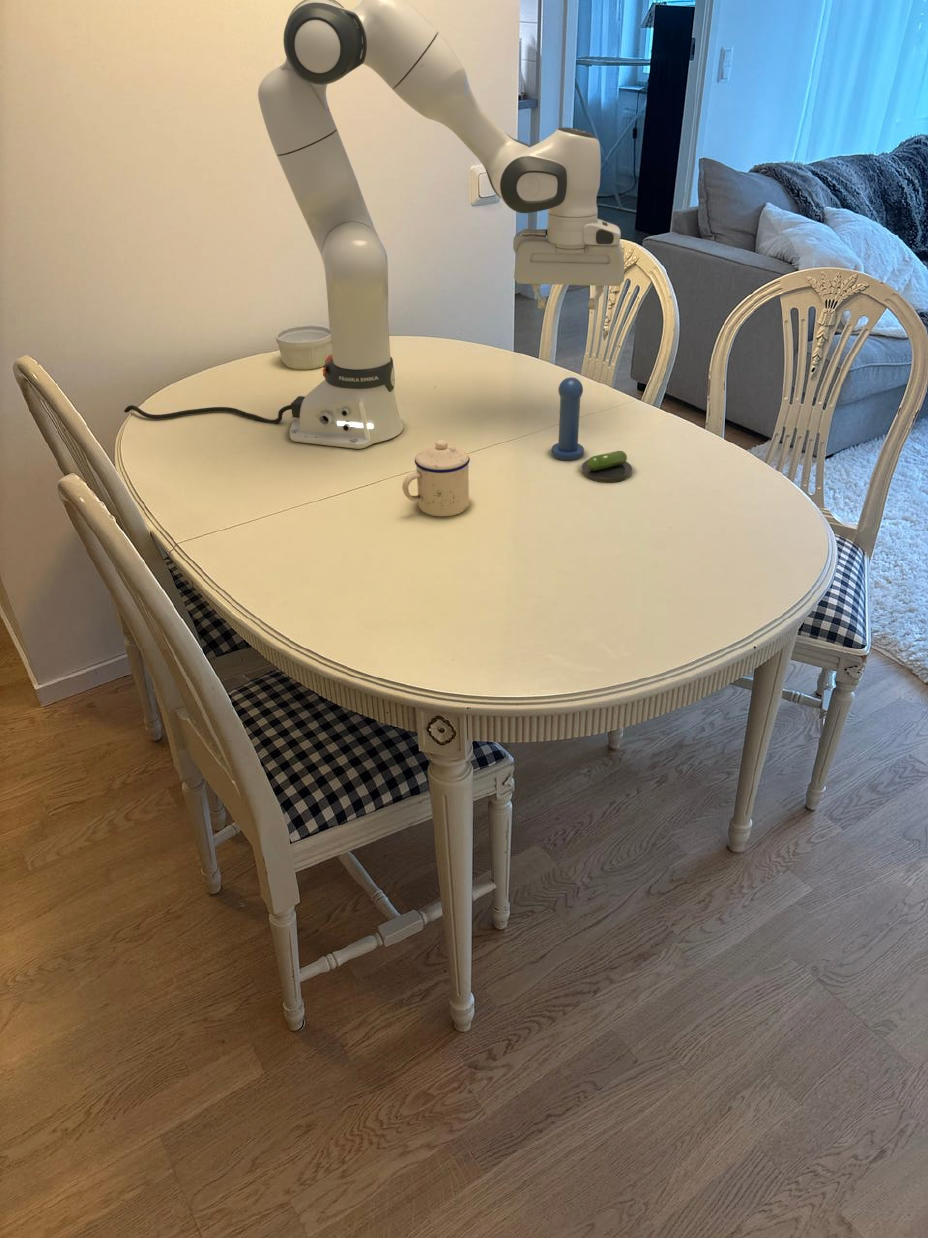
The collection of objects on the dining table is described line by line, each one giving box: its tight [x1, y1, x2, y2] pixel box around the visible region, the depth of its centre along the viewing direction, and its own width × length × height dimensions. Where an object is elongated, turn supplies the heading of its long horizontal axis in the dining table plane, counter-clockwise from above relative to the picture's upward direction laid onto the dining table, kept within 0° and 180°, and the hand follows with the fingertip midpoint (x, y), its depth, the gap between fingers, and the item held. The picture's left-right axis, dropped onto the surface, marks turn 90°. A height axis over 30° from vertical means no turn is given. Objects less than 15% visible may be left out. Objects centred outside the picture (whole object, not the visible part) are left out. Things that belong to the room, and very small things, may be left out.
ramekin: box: [275, 324, 332, 371], centre depth 215 cm, size 13×13×7 cm
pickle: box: [581, 450, 633, 483], centre depth 164 cm, size 9×9×3 cm
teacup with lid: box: [402, 439, 471, 517], centre depth 151 cm, size 12×9×12 cm
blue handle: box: [551, 376, 585, 462], centre depth 167 cm, size 6×6×15 cm
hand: (566, 308), depth 172 cm, fingers open, 8 cm apart
